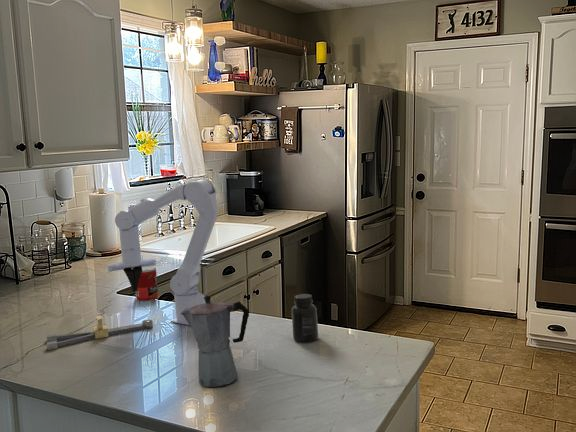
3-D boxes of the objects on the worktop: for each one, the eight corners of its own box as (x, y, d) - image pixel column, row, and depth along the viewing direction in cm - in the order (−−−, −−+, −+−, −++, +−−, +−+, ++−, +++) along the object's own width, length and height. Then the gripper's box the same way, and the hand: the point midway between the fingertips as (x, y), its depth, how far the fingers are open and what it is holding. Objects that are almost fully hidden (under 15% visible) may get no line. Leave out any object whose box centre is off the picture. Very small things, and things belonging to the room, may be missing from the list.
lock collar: (106, 331, 170) (104, 314, 169) (108, 336, 165) (106, 318, 164) (93, 333, 168) (91, 316, 168) (95, 338, 163) (93, 321, 163)
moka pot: (188, 374, 135) (181, 292, 133) (252, 368, 136) (247, 287, 134) (184, 391, 126) (176, 304, 123) (253, 385, 127) (248, 298, 124)
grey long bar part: (150, 322, 177) (149, 316, 176) (155, 330, 168) (155, 324, 168) (47, 340, 165) (46, 333, 165) (47, 350, 157) (46, 343, 157)
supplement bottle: (321, 335, 157) (319, 293, 155) (314, 344, 150) (312, 300, 149) (297, 333, 159) (295, 292, 157) (289, 342, 153) (287, 299, 151)
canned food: (153, 301, 201) (150, 270, 199) (132, 301, 202) (129, 270, 201) (162, 295, 208) (159, 265, 207) (141, 295, 210) (139, 265, 208)
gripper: (152, 243, 183) (155, 284, 185) (105, 249, 178) (109, 291, 180) (156, 246, 177) (159, 289, 179) (107, 252, 171) (111, 296, 173)
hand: (134, 290), depth 179 cm, fingers closed
